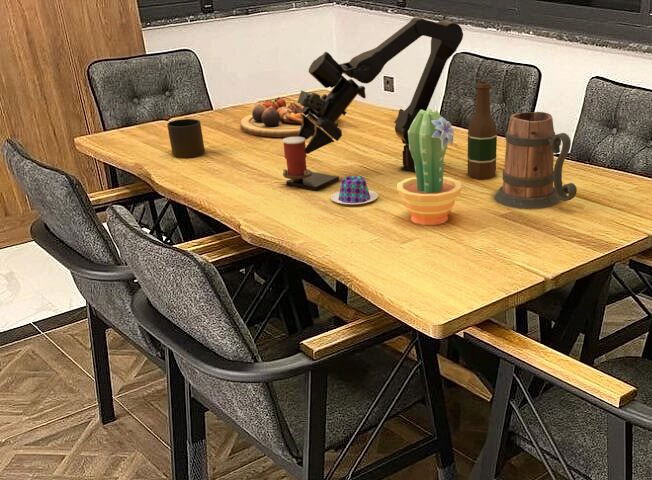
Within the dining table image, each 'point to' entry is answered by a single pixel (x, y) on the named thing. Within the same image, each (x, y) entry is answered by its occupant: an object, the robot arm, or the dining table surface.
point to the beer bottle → (482, 137)
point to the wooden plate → (274, 119)
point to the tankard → (534, 163)
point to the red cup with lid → (295, 155)
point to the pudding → (354, 191)
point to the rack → (310, 180)
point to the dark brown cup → (186, 138)
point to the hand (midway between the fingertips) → (300, 148)
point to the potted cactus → (429, 170)
